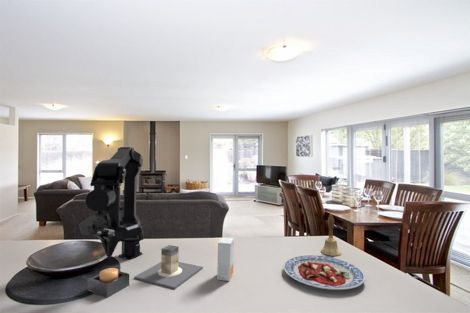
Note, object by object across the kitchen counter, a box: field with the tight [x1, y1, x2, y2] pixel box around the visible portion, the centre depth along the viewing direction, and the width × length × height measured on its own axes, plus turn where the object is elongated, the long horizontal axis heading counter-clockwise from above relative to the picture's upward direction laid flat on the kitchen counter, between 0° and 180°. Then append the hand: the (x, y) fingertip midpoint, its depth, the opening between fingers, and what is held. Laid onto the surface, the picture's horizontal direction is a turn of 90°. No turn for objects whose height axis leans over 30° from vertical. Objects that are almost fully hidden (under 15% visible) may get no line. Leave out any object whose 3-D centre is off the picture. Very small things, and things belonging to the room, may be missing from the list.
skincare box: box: [216, 237, 235, 282], centre depth 87 cm, size 6×4×12 cm
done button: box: [99, 267, 119, 283], centre depth 79 cm, size 5×5×2 cm
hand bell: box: [320, 213, 342, 257], centre depth 111 cm, size 8×8×16 cm
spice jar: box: [160, 244, 179, 275], centre depth 89 cm, size 4×4×8 cm
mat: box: [133, 261, 204, 290], centre depth 89 cm, size 16×16×1 cm
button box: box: [86, 270, 130, 299], centre depth 79 cm, size 8×8×4 cm
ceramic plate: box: [283, 254, 366, 291], centre depth 89 cm, size 26×26×3 cm
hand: (109, 256), depth 79 cm, fingers closed
